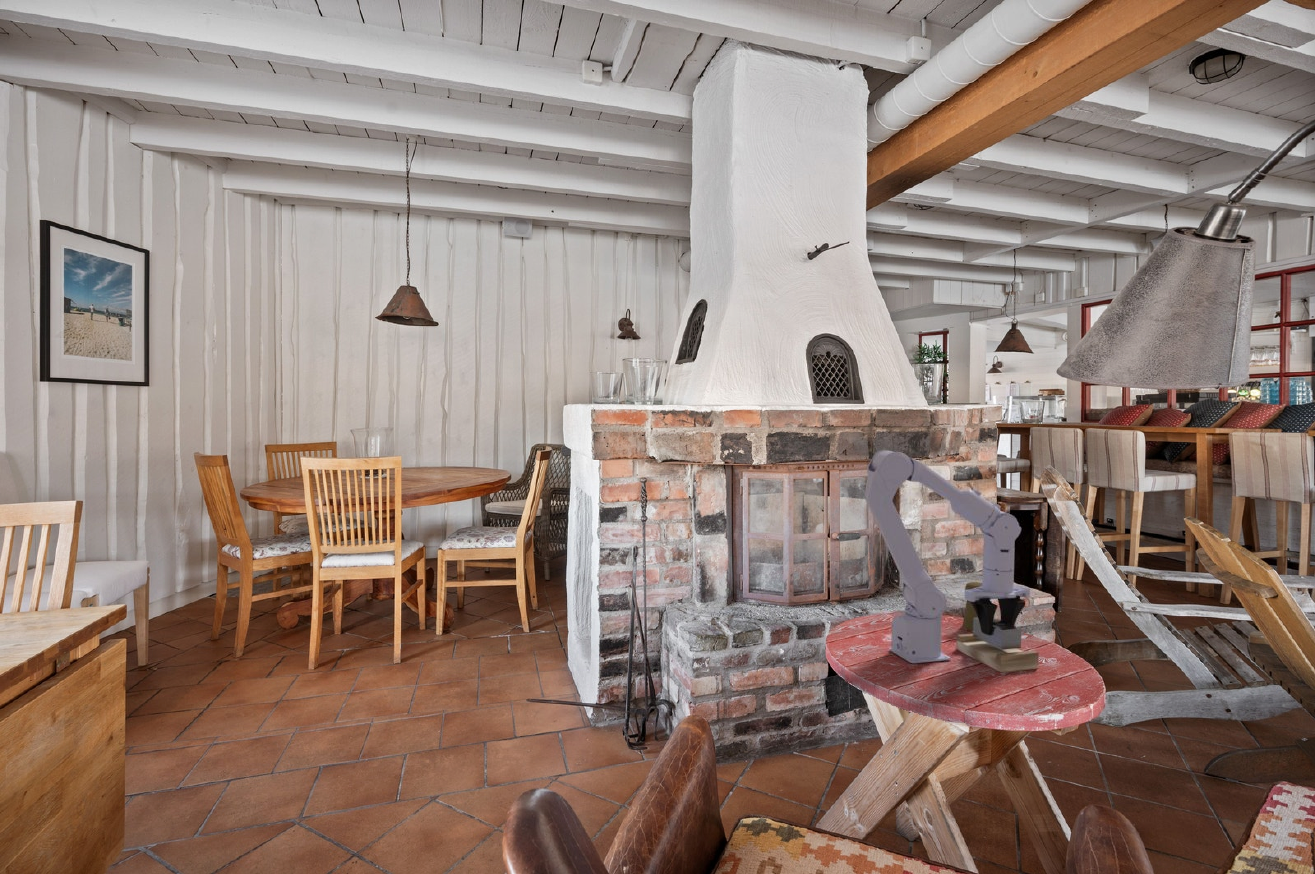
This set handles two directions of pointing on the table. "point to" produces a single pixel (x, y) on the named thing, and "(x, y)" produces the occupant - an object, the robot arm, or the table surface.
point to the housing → (999, 634)
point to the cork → (970, 608)
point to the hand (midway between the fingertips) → (996, 632)
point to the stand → (997, 654)
